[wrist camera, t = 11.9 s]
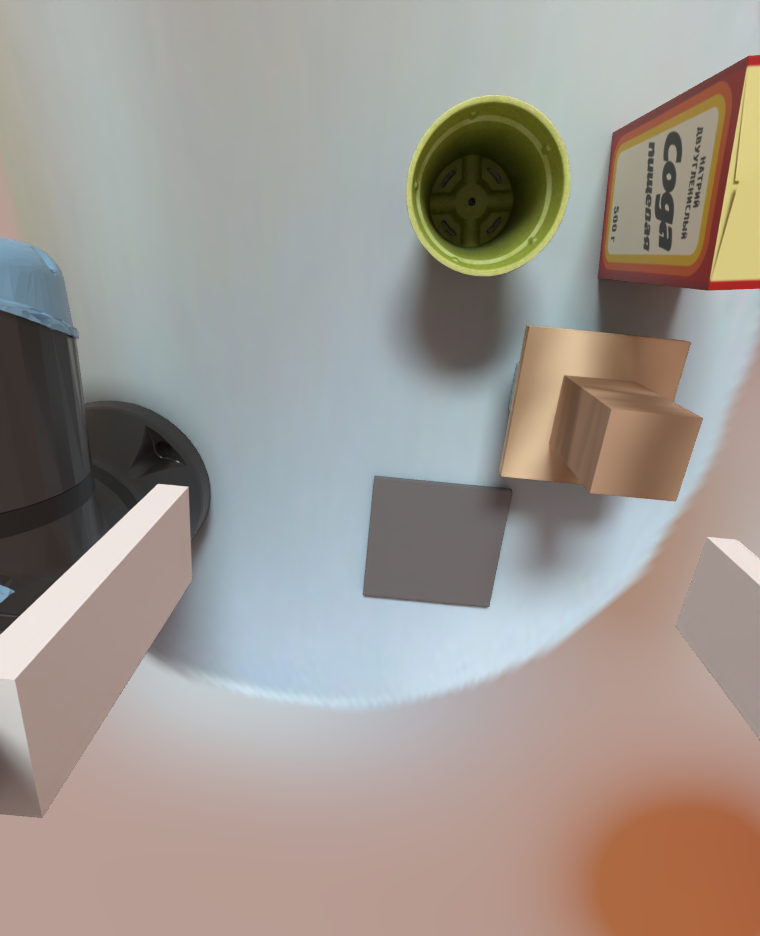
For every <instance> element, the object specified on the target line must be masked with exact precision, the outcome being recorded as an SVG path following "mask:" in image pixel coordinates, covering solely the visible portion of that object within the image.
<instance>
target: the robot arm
mask: <svg viewBox="0 0 760 936" xmlns="http://www.w3.org/2000/svg"><path fill="white" fill-rule="evenodd" d="M76 338H79V334H78V331H77V329H76V328H75V327H74V326H73V323H72V318H71V313H70V308H69V302H68V297H67V292H66V287H65V282H64V277H63V275H62V272H61V270H60V268H59V266H58V265H57V264H56V262H55V261H54V260H53V259H52V258H51V257H50V256H49V255H48V254H47V253H45V252H44V251H42V250H41V249H39V248H37V247H35V246H33V245H31V244H28V243H25V242H21V241H16V240H12V239H8V238H3V237H0V814H5V815H16V816H27V817H37V818H42V817H43V816H44V814H45V812H46V811H47V810H48V808H49V806H50V805H51V803H52V802H53V800H54V799H55V797H56V795H57V794H58V792H59V791H60V789H61V787H62V786H63V784H64V783H65V781H66V779H67V778H68V776H69V775H70V773H71V771H72V770H73V768H74V767H75V765H76V764H77V762H78V760H79V759H80V757H81V756H82V754H83V752H84V751H85V749H86V748H87V746H88V745H89V743H90V741H91V740H92V738H93V737H94V735H95V734H96V732H97V730H98V729H99V727H100V726H101V724H102V722H103V721H104V719H105V718H106V716H107V714H108V713H109V711H110V710H111V708H112V707H113V705H114V703H115V702H116V700H117V699H118V697H119V695H120V694H121V692H122V691H123V689H124V688H125V686H126V684H127V682H128V681H129V680H130V678H131V676H132V675H133V673H134V671H135V670H136V668H137V667H138V665H139V664H140V662H141V661H142V659H143V657H144V656H145V654H146V653H147V651H148V650H149V648H150V646H151V645H152V643H153V642H154V640H155V638H156V637H157V635H158V634H159V632H160V630H161V629H162V627H163V626H164V624H165V623H166V621H167V619H168V618H169V616H170V615H171V613H172V611H173V610H174V608H175V607H176V605H177V604H178V602H179V600H180V599H181V597H182V596H183V594H184V592H185V591H186V589H187V588H188V586H189V585H190V583H191V581H192V560H191V540H192V539H193V537H194V536H195V534H196V533H197V532H198V530H199V529H200V527H201V526H202V524H203V522H204V520H205V517H206V515H207V512H208V508H209V501H210V486H209V479H208V475H207V471H206V468H205V466H204V463H203V461H202V459H201V457H200V455H199V453H198V451H197V450H196V448H195V447H194V445H193V444H192V443H191V441H190V440H189V439H188V438H187V437H186V436H185V434H184V433H183V432H182V431H181V430H179V429H178V428H177V427H176V426H175V425H174V424H172V423H171V422H170V421H168V420H167V419H165V418H164V417H162V416H161V415H159V414H157V413H155V412H153V411H151V410H149V409H146V408H144V407H141V406H138V405H135V404H131V403H126V402H119V401H99V402H93V403H89V404H85V403H84V396H83V388H82V381H81V373H80V366H79V358H78V350H77V343H76ZM675 627H676V628H677V630H678V631H679V632H680V634H681V635H682V636H683V638H684V639H685V640H686V642H687V643H688V644H689V646H690V647H691V648H692V650H693V651H694V652H695V654H696V655H697V657H698V658H699V659H700V660H701V662H702V663H703V664H704V666H705V667H706V669H707V670H708V671H709V673H710V674H711V675H712V677H713V678H714V679H715V681H716V682H717V683H718V685H719V686H720V687H721V689H722V690H723V691H724V693H725V694H726V695H727V697H728V698H729V699H730V701H731V702H732V703H733V705H734V706H735V707H736V709H737V710H738V711H739V713H740V714H741V716H742V717H743V718H744V720H745V721H746V722H747V724H748V725H749V726H750V728H751V729H752V730H753V732H754V733H755V734H756V736H757V737H758V738H759V740H760V559H759V558H758V557H757V556H755V555H754V554H753V553H752V552H751V551H750V550H748V549H747V548H746V547H745V546H744V545H742V544H741V543H740V542H739V541H738V540H732V539H722V538H712V537H707V538H706V541H705V544H704V547H703V549H702V552H701V555H700V558H699V561H698V563H697V566H696V569H695V572H694V575H693V578H692V580H691V583H690V586H689V589H688V592H687V594H686V597H685V600H684V603H683V605H682V608H681V611H680V614H679V617H678V620H677V622H676V625H675Z"/></svg>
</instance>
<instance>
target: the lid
mask: <svg viewBox="0 0 760 936" xmlns="http://www.w3.org/2000/svg"><path fill="white" fill-rule="evenodd" d="M690 345H691V342H687V341H684V340H674V339H664V338H654V337H644V336H634V335H624V334H614V333H604V332H593V331H583V330H573V329H563V328H553V327H543V326H533V325H526V329H525V334H524V340H523V345H522V350H521V356H520V361H519V366H518V372H517V377H516V382H515V388H514V393H513V398H512V404H511V409H510V414H509V420H508V425H507V430H506V436H505V441H504V446H503V452H502V457H501V462H500V468H499V473H500V475H501V476H502V477H512V478H522V479H533V480H543V481H553V482H563V483H574V484H583V485H584V487H585V488H586V489H587V490H588V492H589V493H594V494H604V495H614V496H624V497H635V498H645V499H655V500H666V501H676V500H677V497H678V494H679V491H680V488H681V485H682V481H683V478H684V475H685V472H686V469H687V466H688V463H689V460H690V457H691V454H692V451H693V448H694V445H695V441H696V438H697V435H698V432H699V429H700V426H701V423H702V420H703V418H702V417H700V416H698V415H696V414H694V413H692V412H690V411H689V410H687V409H685V408H683V407H681V406H679V405H677V404H676V403H674V402H673V401H674V398H675V395H676V391H677V388H678V385H679V381H680V378H681V375H682V371H683V368H684V365H685V361H686V358H687V355H688V351H689V348H690Z"/></svg>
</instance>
